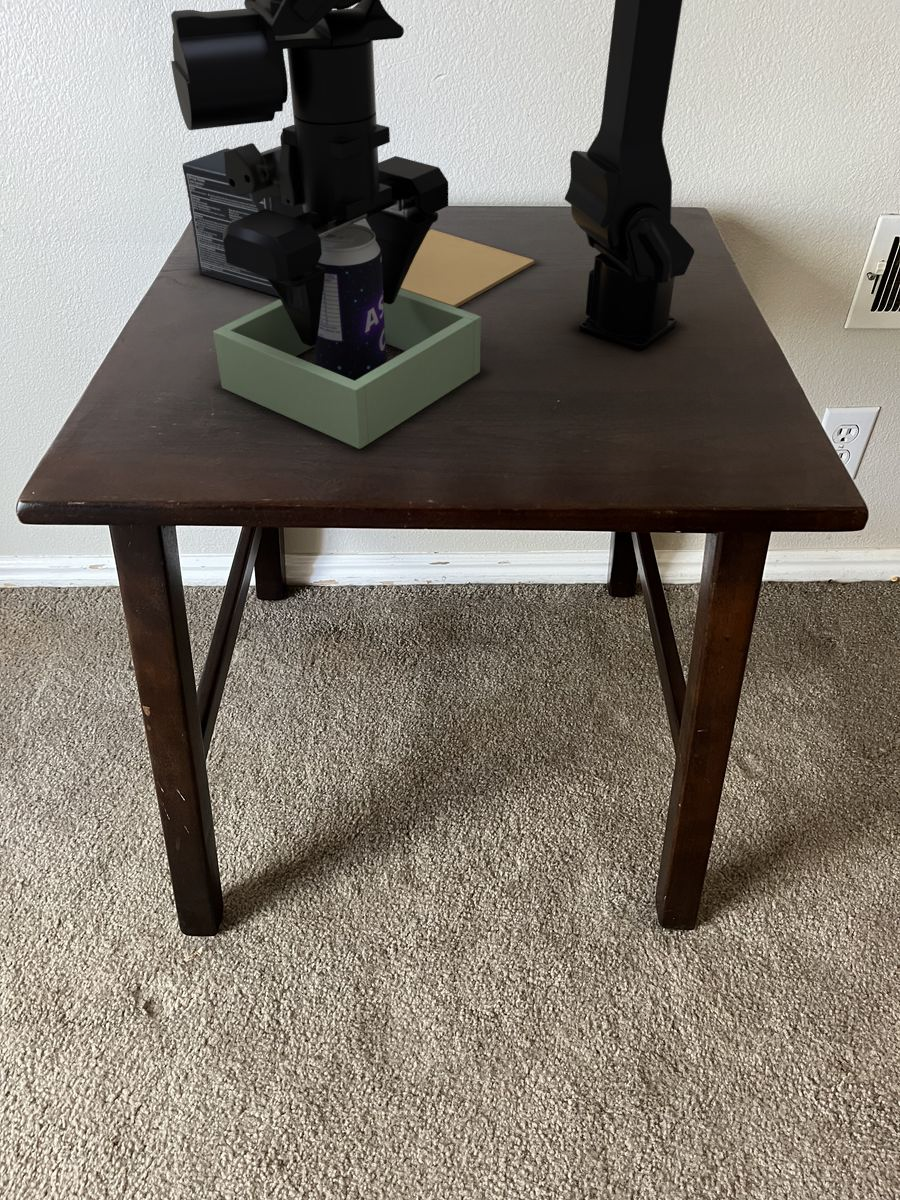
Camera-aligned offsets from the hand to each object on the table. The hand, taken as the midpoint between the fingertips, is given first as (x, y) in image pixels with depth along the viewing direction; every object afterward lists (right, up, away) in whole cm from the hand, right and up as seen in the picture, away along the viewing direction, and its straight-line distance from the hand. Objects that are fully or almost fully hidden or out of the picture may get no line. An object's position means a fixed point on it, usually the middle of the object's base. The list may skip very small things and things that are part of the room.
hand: (349, 322), depth 82 cm
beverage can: (0, -4, +3) cm, 5 cm away
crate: (0, -4, +3) cm, 5 cm away
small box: (-11, +10, +19) cm, 24 cm away
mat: (+7, +11, +20) cm, 24 cm away
